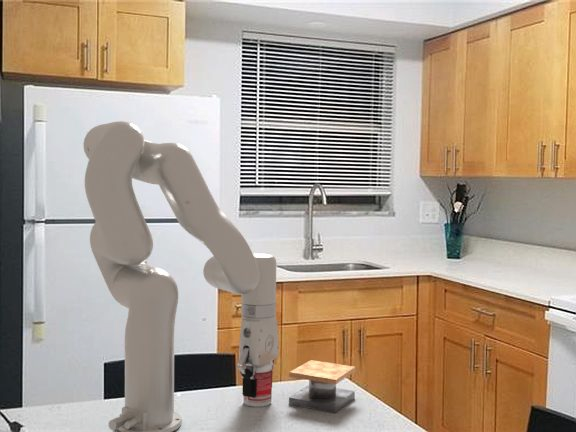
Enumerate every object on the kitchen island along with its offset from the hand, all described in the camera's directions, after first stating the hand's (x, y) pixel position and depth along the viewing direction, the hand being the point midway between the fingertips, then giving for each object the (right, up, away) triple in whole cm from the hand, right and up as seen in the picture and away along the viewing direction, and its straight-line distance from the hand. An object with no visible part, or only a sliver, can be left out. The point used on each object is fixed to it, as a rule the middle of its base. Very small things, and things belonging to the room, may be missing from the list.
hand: (257, 391), depth 145 cm
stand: (+14, -3, +2) cm, 15 cm away
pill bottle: (0, -3, 0) cm, 3 cm away
